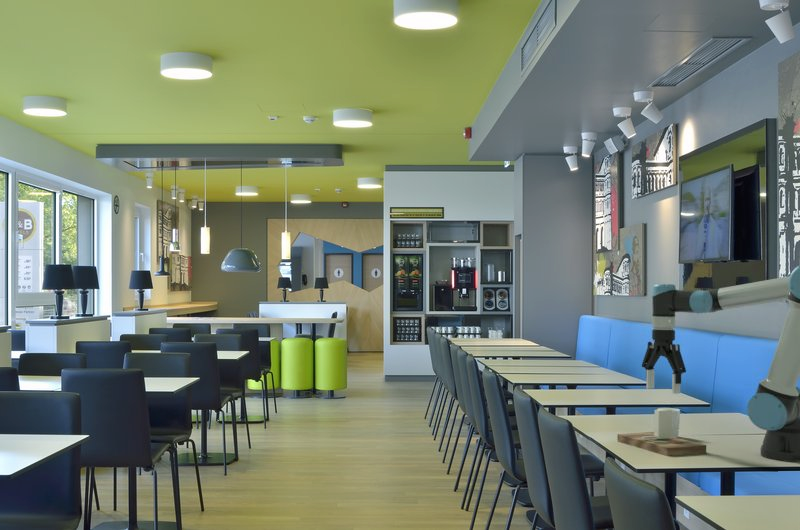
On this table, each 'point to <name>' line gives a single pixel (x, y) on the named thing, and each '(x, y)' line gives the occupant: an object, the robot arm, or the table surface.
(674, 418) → the white cup
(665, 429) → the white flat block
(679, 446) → the wooden cutting board
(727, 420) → the table surface
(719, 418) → the table surface
